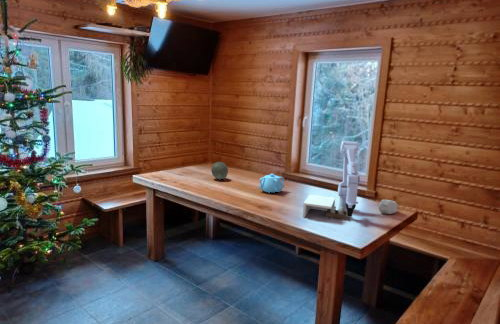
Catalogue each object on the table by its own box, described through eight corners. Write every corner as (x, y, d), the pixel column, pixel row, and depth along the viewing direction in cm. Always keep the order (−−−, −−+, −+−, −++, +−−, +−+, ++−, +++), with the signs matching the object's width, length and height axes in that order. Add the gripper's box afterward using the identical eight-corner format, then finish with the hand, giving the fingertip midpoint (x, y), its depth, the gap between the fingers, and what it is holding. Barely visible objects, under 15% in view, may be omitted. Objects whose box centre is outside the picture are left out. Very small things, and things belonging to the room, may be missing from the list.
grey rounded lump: (377, 214, 215) (378, 210, 229) (397, 216, 211) (397, 212, 224) (379, 199, 214) (380, 196, 228) (399, 202, 210) (398, 199, 224)
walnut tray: (327, 213, 214) (328, 204, 213) (347, 216, 210) (348, 206, 209) (325, 217, 206) (326, 207, 205) (346, 220, 202) (347, 210, 201)
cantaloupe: (229, 178, 296) (230, 161, 293) (224, 182, 282) (225, 164, 280) (214, 177, 299) (214, 160, 296) (208, 180, 285) (208, 162, 283)
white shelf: (308, 207, 224) (309, 194, 222) (334, 211, 218) (335, 198, 217) (302, 217, 205) (303, 202, 203) (330, 221, 200) (331, 206, 198)
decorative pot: (267, 187, 271) (268, 170, 268) (286, 191, 262) (287, 173, 259) (256, 191, 257) (257, 174, 255) (275, 195, 248) (276, 177, 246)
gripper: (358, 198, 195) (356, 221, 197) (359, 192, 209) (357, 213, 211) (345, 196, 197) (343, 219, 200) (347, 190, 211) (345, 212, 213)
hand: (349, 216), depth 206 cm, fingers closed, pressing on walnut tray
